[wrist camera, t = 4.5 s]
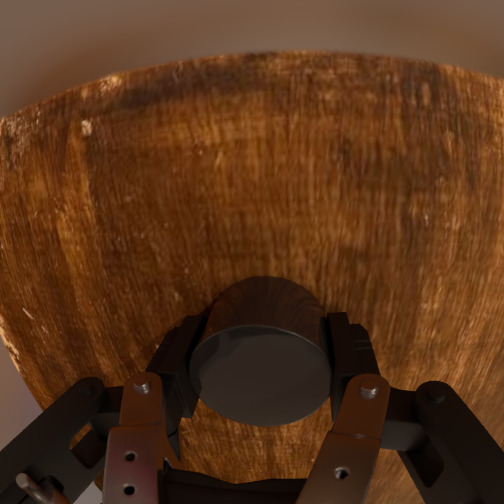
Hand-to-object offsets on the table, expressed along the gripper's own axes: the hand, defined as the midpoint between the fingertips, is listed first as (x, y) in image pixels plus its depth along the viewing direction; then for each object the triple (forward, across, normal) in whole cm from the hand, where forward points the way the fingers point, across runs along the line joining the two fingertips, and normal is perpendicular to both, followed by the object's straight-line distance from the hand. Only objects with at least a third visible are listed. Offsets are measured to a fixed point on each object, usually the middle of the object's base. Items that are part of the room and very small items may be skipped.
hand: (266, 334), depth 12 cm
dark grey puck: (0, 0, 0) cm, 0 cm away
